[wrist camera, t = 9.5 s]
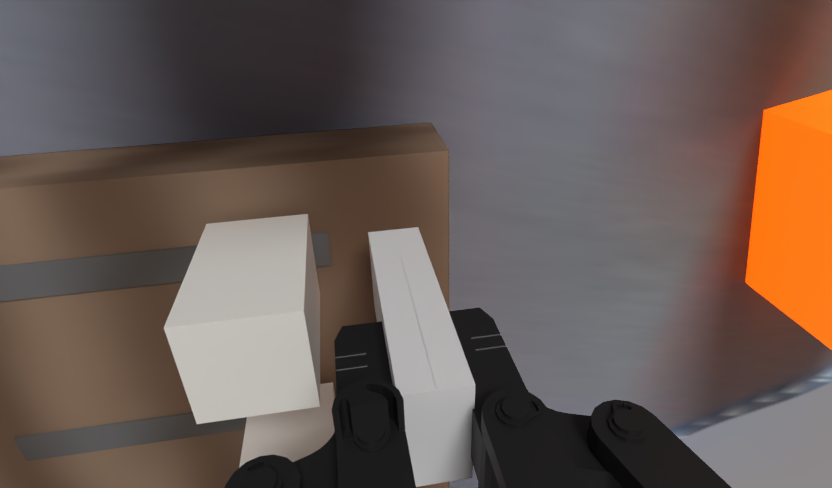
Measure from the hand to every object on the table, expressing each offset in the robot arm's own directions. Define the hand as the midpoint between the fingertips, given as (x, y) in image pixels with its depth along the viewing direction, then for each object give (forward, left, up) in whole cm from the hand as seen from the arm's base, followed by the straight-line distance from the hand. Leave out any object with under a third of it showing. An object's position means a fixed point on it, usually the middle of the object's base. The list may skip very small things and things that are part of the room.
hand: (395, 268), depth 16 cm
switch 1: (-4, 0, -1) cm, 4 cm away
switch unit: (-8, -7, -5) cm, 12 cm away
